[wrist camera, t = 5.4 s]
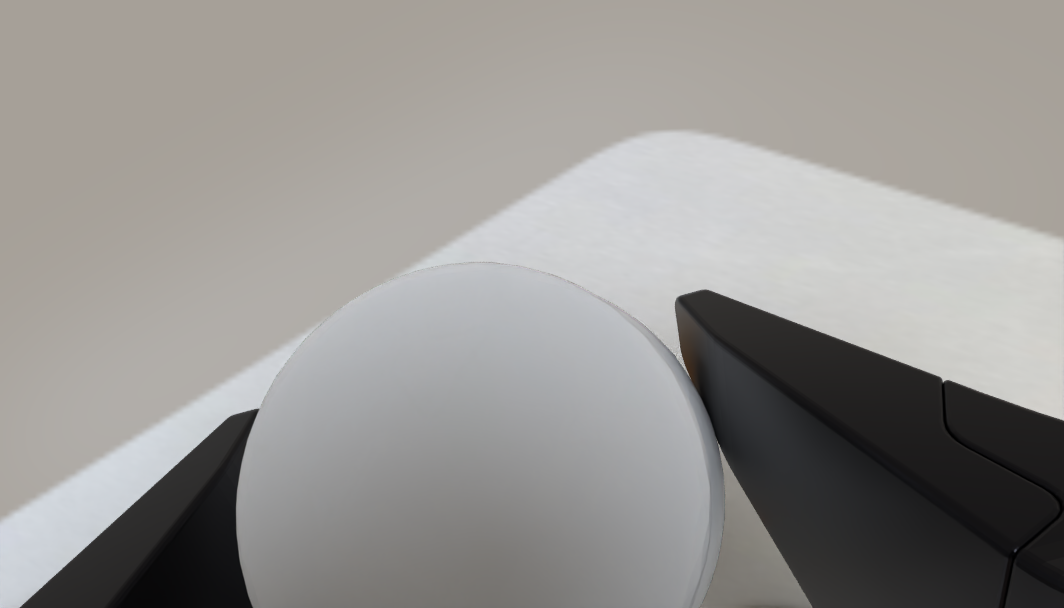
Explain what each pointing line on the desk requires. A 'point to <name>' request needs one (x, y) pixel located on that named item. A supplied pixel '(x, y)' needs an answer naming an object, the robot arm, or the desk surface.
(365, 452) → the supplement bottle
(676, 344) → the desk surface
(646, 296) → the desk surface
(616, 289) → the desk surface
